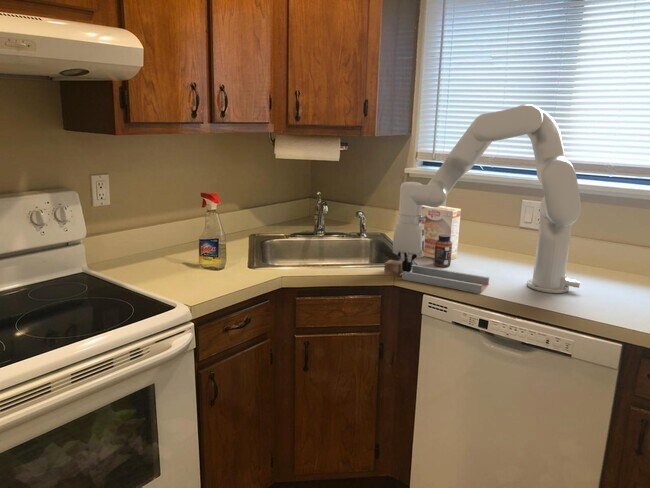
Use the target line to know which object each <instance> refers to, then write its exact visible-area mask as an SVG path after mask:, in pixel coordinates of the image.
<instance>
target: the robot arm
mask: <svg viewBox="0 0 650 488" xmlns="http://www.w3.org/2000/svg"><path fill="white" fill-rule="evenodd" d="M521 136H528V138H529V140H530V142H531V146H532V152H533V156H534V162H535V169H536V177H537V179H538V181H539V182H540V183H541V186H542V190H543V191H542V192H543V197H542V198H541V201H540V205H539V219H538V221H539V224H538V233H537V234H538V235H537V240H536V248H535V249H536V250H535V257H534V267H533V275H532V278H530V279H528V280H527V281H526V285H527V286H528V288H530V289H533V290H535V291H538V292H543V293H548V294H562V293H567V292H569V290H570V287H572V288H577V289H579V288H580V286H581V281H578V280H576V279H570V278H569V277H568V274H566V273H567V267H568V266H567V265H568V259H569V253H570V252H569V251H570V244H571V237H572V229H573V228H572V226H573V224H574V223H576V222H577V220H578V219H579V217H580V216H581V213H582V203H581V197H580V196H581V195H580V189H579V185H578V184H579V183H578V178H577V173H576V170H575V167H574V166H573V164H572V163H571V162H570V161H569V160H568V159H567V158H566V153H565V148H564V143H563V139H562V134H561V130H560V129H559V126H558V124H557V122H556V121H555V119H554V118H553V117H552V116H551V115H550V114H549V113H548V112H546V111H545V110H542V109H541V108H539V107H538V106H536V105H534V104H530V103H528V104H526V103H525V104H521V105H518V106H515V107H511V108H506V109H503V110H498V111H493V112H488V113H485V112H484V113H481V114H480V115H478V116H477V117H476V118H475V119H473V121H472V123H471V124H470V125H469V127H468V128H467V129H466V131H465V132H464V133H463V134H462V136H461V137H460V139H459V140H458V141H457V143H456V144H455V145H454V147H453V148H452V149H451V150H450V152H449V153H448V155H447V157H446V158H445V160H444V161H443V163H442V164H441V166H440V167H439V168H438V170H437V171H436V172H435V173H434V175H433V176H432V178H431V179H430V180H429V181H428V183H427V184H422V183H421V182H419V181H418V182H416V181H405V182H402V183H401V184H400V189H399V190H400V191H399V209H398V221H397V222H396V224H395V228H394V232H393V238H392V239H393V240H392V253H393V254H394V255H396V256H398V257H399V258H400V261H401V262H402V269H403V272H404V271H406V272H412V266H413V261H415V259H421V258H423V257H425V256H424V255H423V251H424V249H425V232H424V224H421V223H422V222H425V220H426V218H423V217H422V205H424V206H429V207H439V206H443V205H444V204H445V202H446V201H447V197H448V194H449V193H450V191H452V189H453V188H454V187H455V185H456V184H457V183H458V181H459V180H460V179H461V177H463V176H464V175H465V174H466V173H468V172H469V171H470V170H471V169H472V168H473V167H474V166H475V165H476V164H477V162H478V160H479V159H480V158H481V157H482V155H484V153H485V152H486V151H487V149H488V148H489V146H490V145H491V144H492V143H493V142H497V141H504V140H507V139H508V140H509V139H512V138H516V137H521Z"/></svg>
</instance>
